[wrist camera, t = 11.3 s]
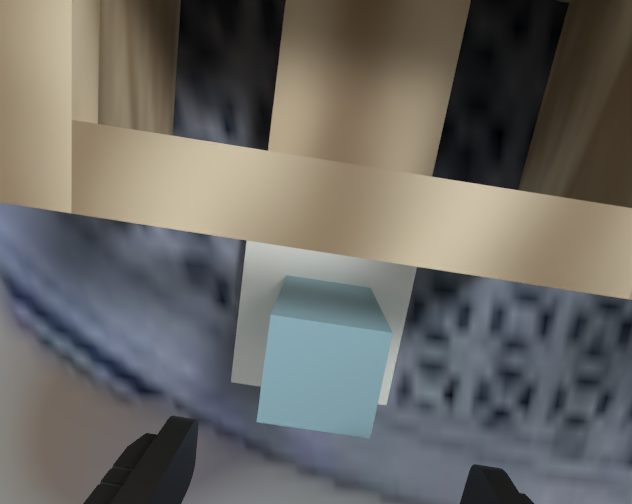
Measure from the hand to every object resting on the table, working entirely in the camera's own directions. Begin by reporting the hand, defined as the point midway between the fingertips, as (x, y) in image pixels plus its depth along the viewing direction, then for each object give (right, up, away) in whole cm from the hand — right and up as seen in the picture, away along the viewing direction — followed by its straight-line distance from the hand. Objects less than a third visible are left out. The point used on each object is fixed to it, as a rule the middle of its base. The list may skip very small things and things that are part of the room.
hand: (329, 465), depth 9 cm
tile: (0, +2, +11) cm, 11 cm away
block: (0, +2, +10) cm, 10 cm away
